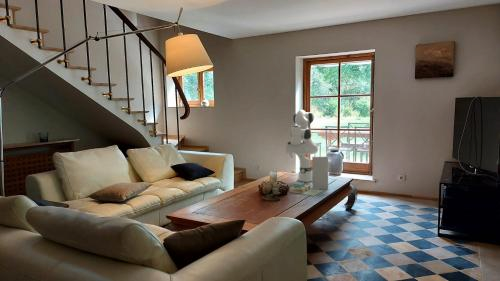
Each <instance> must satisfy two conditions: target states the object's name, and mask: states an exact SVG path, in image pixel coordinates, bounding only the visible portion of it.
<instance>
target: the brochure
mask: <svg viewBox="0 0 500 281" xmlns="http://www.w3.org/2000/svg"><path fill="white" fill-rule="evenodd" d="M311 159H312V160H311V164H312V165H311V167H312V170H311V171H312V181H311V182H312V189H317V190H329V157H328V156H312V157H311Z"/></svg>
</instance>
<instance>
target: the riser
mask: <svg viewBox="0 0 500 281" xmlns="http://www.w3.org/2000/svg"><path fill="white" fill-rule="evenodd" d="M310 189H311V185H310V184H305V186H304V187H302V188H299V187H293V186H291V187H289V192H290V193H294V194H302V193H304V192H306V191H308V190H310ZM302 195H303V194H302Z"/></svg>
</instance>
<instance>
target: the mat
mask: <svg viewBox="0 0 500 281" xmlns="http://www.w3.org/2000/svg"><path fill="white" fill-rule="evenodd" d="M323 192H325V189H313V188H310V190H308V191H306V192H304V193H302V195H304V196H305V195H306V196H312V197H315V196H317V195H319V194H321V193H323Z"/></svg>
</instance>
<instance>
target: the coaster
mask: <svg viewBox="0 0 500 281" xmlns="http://www.w3.org/2000/svg"><path fill="white" fill-rule="evenodd" d="M305 185H306V183H305V182H303V181H297V182H293V185H292V187H299V188H302V187H304V186H305Z"/></svg>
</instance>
